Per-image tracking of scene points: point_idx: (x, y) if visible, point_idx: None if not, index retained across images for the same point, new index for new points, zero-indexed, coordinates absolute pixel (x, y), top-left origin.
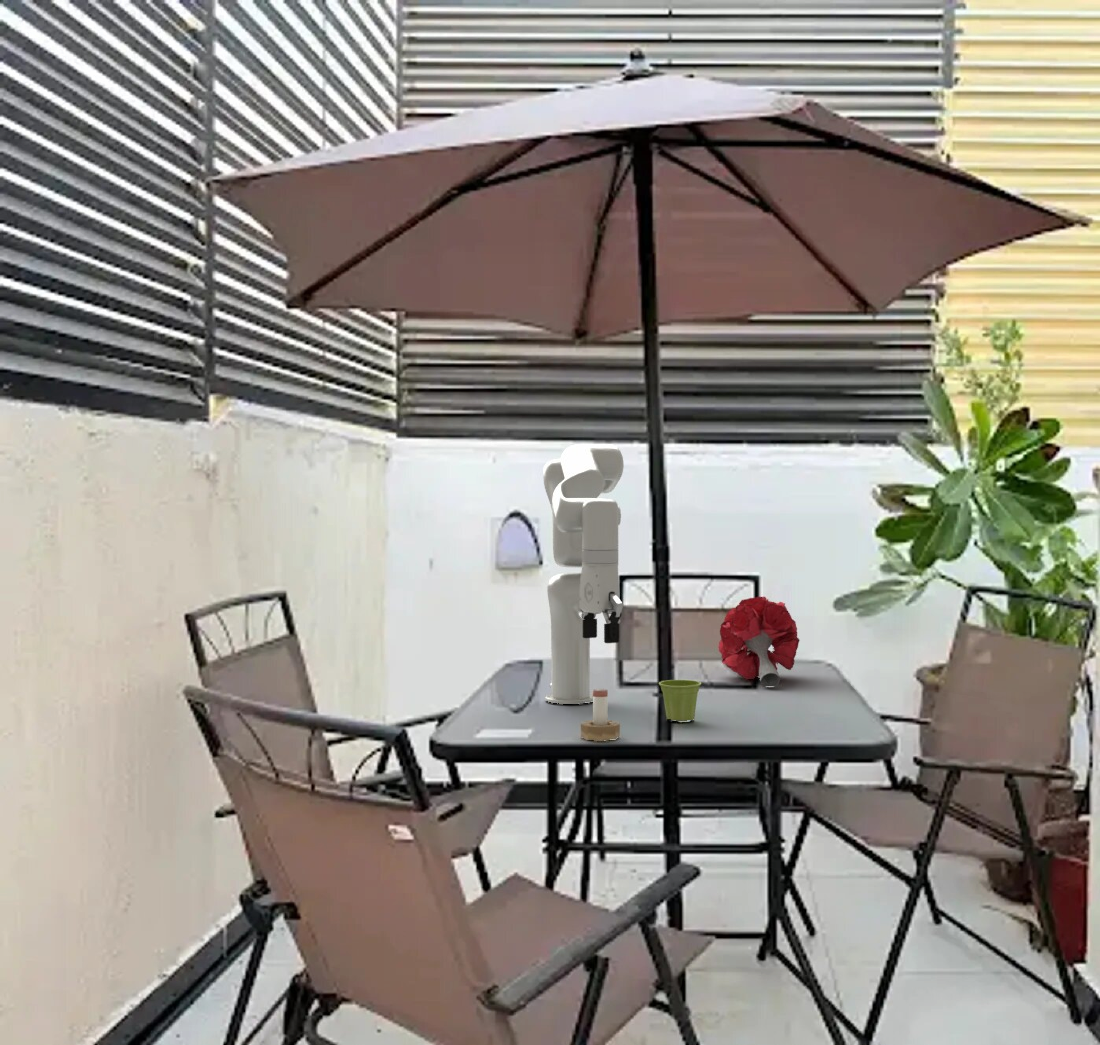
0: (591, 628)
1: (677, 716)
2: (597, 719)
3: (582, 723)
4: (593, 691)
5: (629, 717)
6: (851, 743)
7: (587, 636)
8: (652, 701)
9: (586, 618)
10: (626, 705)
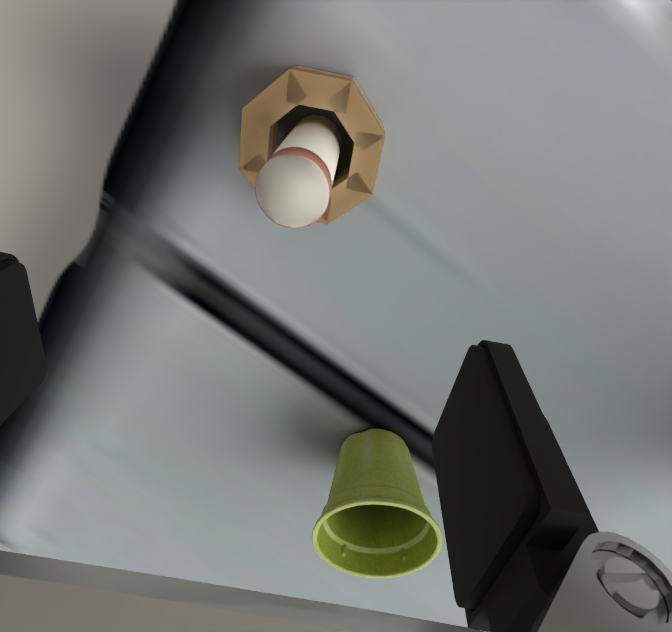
0: (463, 471)
1: (352, 444)
2: (293, 131)
3: (353, 92)
4: (302, 154)
5: None
6: (3, 509)
7: (463, 373)
8: None
9: (545, 559)
10: (631, 488)
